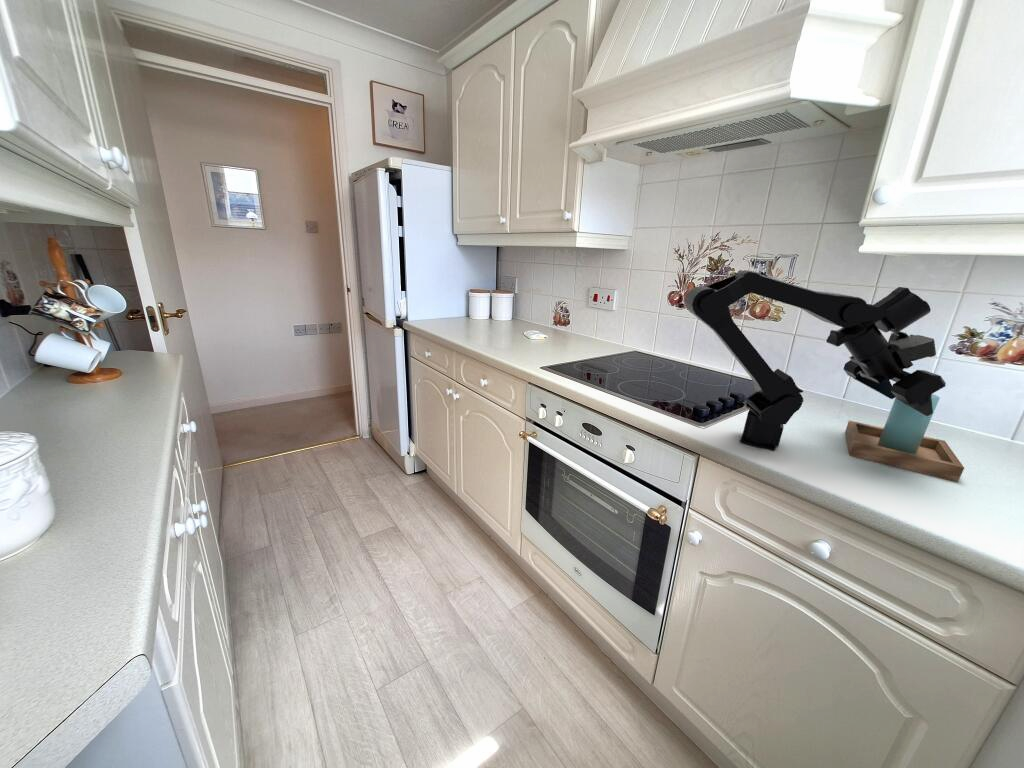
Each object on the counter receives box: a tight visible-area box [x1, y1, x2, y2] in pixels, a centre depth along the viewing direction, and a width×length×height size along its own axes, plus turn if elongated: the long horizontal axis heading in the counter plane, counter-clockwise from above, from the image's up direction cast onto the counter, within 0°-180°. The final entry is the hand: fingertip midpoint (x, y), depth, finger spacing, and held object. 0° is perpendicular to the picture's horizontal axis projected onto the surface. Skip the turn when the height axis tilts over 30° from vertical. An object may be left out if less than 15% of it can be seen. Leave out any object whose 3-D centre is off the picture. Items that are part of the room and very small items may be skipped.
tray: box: [844, 420, 965, 483], centre depth 85 cm, size 16×14×3 cm
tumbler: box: [877, 393, 941, 454], centre depth 83 cm, size 6×6×12 cm
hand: (910, 405), depth 82 cm, fingers open, 9 cm apart
